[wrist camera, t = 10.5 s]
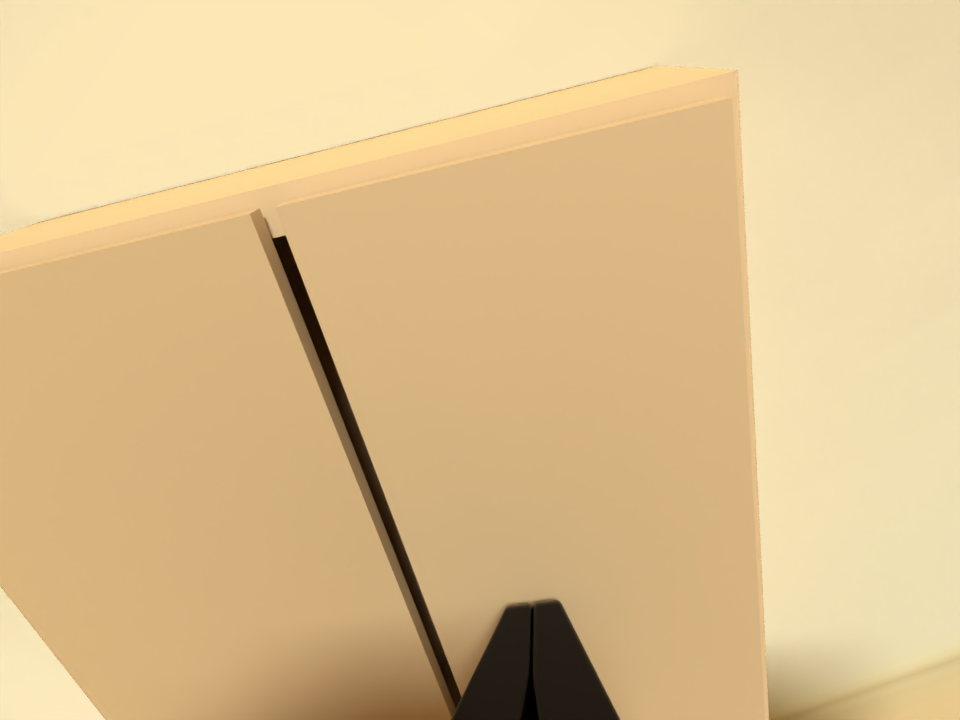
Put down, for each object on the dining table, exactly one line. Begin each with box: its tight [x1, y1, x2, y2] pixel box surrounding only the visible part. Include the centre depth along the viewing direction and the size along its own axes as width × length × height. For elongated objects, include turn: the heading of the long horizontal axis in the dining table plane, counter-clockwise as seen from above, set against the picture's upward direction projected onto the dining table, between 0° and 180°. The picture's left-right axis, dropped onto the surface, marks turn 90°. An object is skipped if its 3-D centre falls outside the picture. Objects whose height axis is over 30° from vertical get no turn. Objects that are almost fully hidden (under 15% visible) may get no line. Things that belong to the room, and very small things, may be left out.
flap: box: [275, 96, 765, 720], centre depth 9 cm, size 5×14×1 cm, turn 13°
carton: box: [0, 66, 769, 720], centre depth 12 cm, size 12×14×5 cm
